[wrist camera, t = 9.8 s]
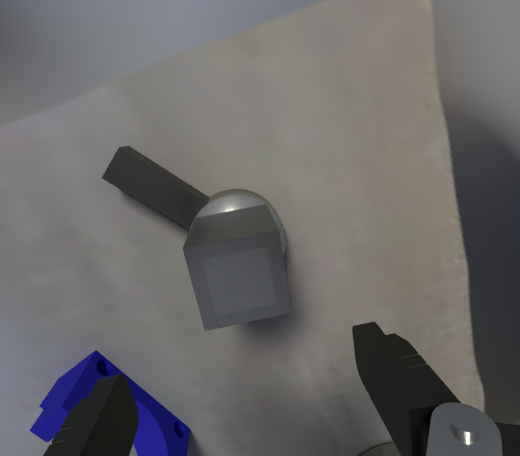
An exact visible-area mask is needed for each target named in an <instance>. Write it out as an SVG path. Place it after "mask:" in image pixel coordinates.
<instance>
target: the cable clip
mask: <svg viewBox="0 0 520 456" xmlns="http://www.w3.org/2000/svg"><path fill="white" fill-rule="evenodd" d="M120 374H123V375H124V376H125V377H126V379H127V381H128V384H129V387H130V389H131V392H132V395H133V397H134V400H135V403H136V405H137V408H138V413H139V425H138V430H137V433H136V436H135V439H134V442H133V444H134V446H135V449H136V452H137V455H138V456H186V455H187V447H188V440H189V433H190V428H189V427H187V426H186V425H185V424H184V423H183V422H181V421H180V420H179V419H178V418H177V417H175V416H174V415H173V414H172V413H171V412H169V411H168V410H167V409H166V408H165V407H163V406H162V405H161V404H160V403H159V402H157V401H156V400H155V399H154V398H153V397H152V396H150V395H149V394H148V393H147V392H146V391H144V390H143V389H142V388H141V387H140V386H138V385H137V384H136V383H135V382H134V381H132V380H131V379H130V378H129V377H128V376H126V375H125V374H124V373H123V372H122V371H120V370H119V369H118V368H117V367H116V366H114V365H113V364H112V363H111V362H110V361H108V360H107V359H106V358H105V357H104V356H103V355H101V354H100V353H99V352H98V351H97V350H96V351H94V352H93V353H92V354H90V355H89V356H88V357H86V358H85V359H84V360H82V361H81V362H80V363H79V364H77V365H76V366H75V367H73V368H72V369H71V370H69V371H68V372H67V373H65V374H64V375H63V376H62V377H60V378H59V379H58V380H57V382H56V383H55V384H54V386H53V387H52V389H51V390H50V392H49V393H48V394H47V396H46V397H45V399H44V400H43V402H42V403H41V405H40V407H41V408H43V409H44V410H43V412H42V413H41V414H40V416H39V417H38V419H37V420H36V422H35V423H34V425H33V426H32V428H31V429H30V431H31V432H32V433H34V434H35V435H37V436H38V437H40V438H41V439H43V440H44V441H46V442H48V441H50V440H51V439H53V438H54V437H55V435H56V434H57V432H58V431H60V427H61V425H62V424H63V422H64V420H65V419H66V417H67V415H68V414H69V412H70V411H71V410H72V409H73V408H74V407H75V406H76V405H77V404H78V403H79V402H80V401H81V400H82V399H83V398H88V396H89V394H90V392H91V390H92V389H93V387H94V385H95V383H96V382H97V381H98V380H99V379H101V378H105V377H110V376H115V375H120Z"/></svg>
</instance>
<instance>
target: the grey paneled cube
mask: <svg viewBox="0 0 520 456" xmlns="http://www.w3.org/2000/svg"><path fill="white" fill-rule="evenodd" d="M183 251H184V255H185V259H186V262H187V266H188V270H189V273H190V277H191V281H192V285H193V288H194V292H195V296H196V299H197V303H198V307H199V310H200V314H201V318H202V322H203V325H204V329H205V331H207V330H212V329H217V328H221V327H226V326H231V325H236V324H241V323H246V322H251V321H256V320H260V319H265V318H270V317H275V316H280V315H285V314H290V313H293V311H292V305H291V299H290V293H289V287H288V281H287V275H286V268H285V262H284V256H283V250H282V244H281V238H280V232H279V228H278V226H277V224H276V222H275V220H274V218H273V216H272V214H271V212H270V210H269V208H268V206H267V204H263V205H258V206H253V207H248V208H243V209H237V210H232V211H227V212H222V213H217V214H212V215H206V216H201V217H196V218H195V220H194V222H193V225H192V227H191V230H190V232H189V234H188V237H187V239H186V242H185V244H184V247H183Z"/></svg>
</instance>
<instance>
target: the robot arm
mask: <svg viewBox="0 0 520 456" xmlns="http://www.w3.org/2000/svg"><path fill="white" fill-rule="evenodd" d="M352 331H353V340H354V349H355V357H356V364H357V369H358V372H359V375H360V378H361V380H362V382H363V384H364V386H365V388H366V390H367V392H368V394H369V396H370V398H371V400H372V401H373V403H374V405H375V407H376V409H377V411H378V413H379V415H380V417H381V418H382V420H383V422H384V424H385V426H386V428H387V430H388V432H389V434H390V436H391V437H392V439H393V441H394V443H387V444H383V445H380V446H377V447H375V448H372V449H370V450H369V451H367V452H365V453H364V454H362V455H361V456H520V425H513V424H503V423H498V422H493V421H492V419H490V418H489V417H488V416H487V415H486V414H484V413H483V412H482V411H480V410H478V409H476V408H474V407H472V406H469V405H466V404H462V403H461V402H460V401H459V400H458V399H457V398H456V396H455V395H454V394H453V393H452V392H451V391H450V389H449V388H448V387H447V386H446V385H445V384H444V383H443V381H442V380H441V379H440V378H439V377H438V376H437V374H436V373H435V372H434V371H433V370H432V369H431V367H430V366H429V365H427V364H426V362H425V360H424V359H423V358H422V357H421V356H420V355H418V352H417V351H416V350H415V349H414V348H413V346H412V345H411V344H410V343H409V342H408V341H407V340H405V339H403V338H401V337H400V336H398V335H396V334H395V333H393V334H389V335H385V334H384V333H383V331H382V330H381V329H380V327H379V326H378V325H377V324H376V323H375V322H370V323H365V324H360V325H356V326H353V329H352ZM138 425H139V413H138V408H137V405H136V403H135V400H134V397H133V395H132V392H131V389H130V387H129V384H128V381H127V379H126V377H125V376H124V375H123V374H120V375H115V376H110V377H105V378H101V379H99V380H98V381H97V382H96V383H95V385H94V387H93V389H92V390H91V392H90V394H89V396H88V398H83V399H82V400H81V401H80V402H79V403H78V404H77V405H76V406H75V407H74V408H73V409H72V410H71V411H70V412H69V414H68V415H67V417H66V419H65V420H64V422H63V424H62V425H61V427H60V431H58V432H57V434H56V435H55V437H54V439H53V440H52V445H49V447H48V449H47V450H46V452H45V454H44V455H43V456H129V454H130V451H131V448H132V445H133V442H134V439H135V436H136V433H137V430H138Z"/></svg>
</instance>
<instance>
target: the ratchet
mask: <svg viewBox="0 0 520 456" xmlns="http://www.w3.org/2000/svg"><path fill="white" fill-rule="evenodd" d="M102 178H103V179H104V180H106V181H108V182H109V183H111V184H113V185H114V186H116V187H117V188H119V189H121V190H122V191H124V192H126V193H127V194H129V195H131V196H132V197H134V198H136V199H137V200H139V201H141V202H142V203H144V204H146V205H147V206H149V207H151V208H152V209H154V210H156V211H157V212H159V213H161V214H162V215H164V216H166V217H167V218H169V219H171V220H172V221H174V222H176V223H177V224H179V225H181V226H182V227H184V228H186V229H187V230H189V232H190V230H191V227H192V225H193V222H194V220H195V218H196V217H201V216H206V215H212V214H217V213H222V212H227V211H232V210H237V209H243V208H248V207H253V206H258V205H263V204H267V206H268V208H269V210H270V212H271V214H272V216H273V218H274V220H275V222H276V224H277V226H278V228H279V232H280V238H281V244H282V250H283V256H284V252H285V247H286V234H285V230H284V227H283V224H282V222H281V220H280V218H279V216H278V215H277V213H276V211H275V209H274V208H273V207H272V205H271V204H270V203H269V202H268V201H267V200H266V199H264V198H263V197H262V196H260V195H258V194H256V193H254V192H252V191H248V190H242V189H231V190H226V191H222V192H219V193H217V194H215V195H213V196H212V197H210V198H209V197H208V196H206V195H205V194H203V193H201V192H200V191H198V190H197V189H195V188H194V187H192V186H190V185H189V184H187V183H186V182H184V181H183V180H181V179H180V178H178V177H176V176H175V175H173V174H172V173H170V172H169V171H167V170H166V169H164V168H162V167H161V166H159V165H158V164H156V163H155V162H153V161H151V160H150V159H148V158H147V157H145V156H144V155H142V154H141V153H139V152H137V151H136V150H134V149H133V148H131V147H130V146H125V147H119V149H118V150H117V152H116V154H115V156H114V157H113V159H112V161H111V163H110V164H109V166H108V168H107V170H106V171H105V173H104V175H103V177H102Z"/></svg>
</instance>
